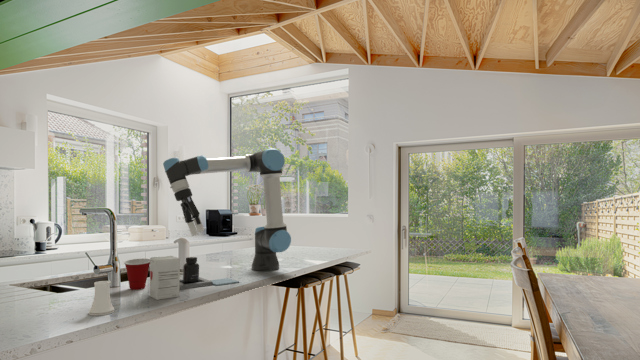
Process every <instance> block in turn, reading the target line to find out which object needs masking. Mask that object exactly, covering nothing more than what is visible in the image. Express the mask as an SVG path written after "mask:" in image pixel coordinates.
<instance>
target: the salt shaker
mask: <svg viewBox="0 0 640 360" xmlns="http://www.w3.org/2000/svg"><path fill="white" fill-rule="evenodd" d="M111 282H112V281H111V280H99V281H95V282H94V283H93V284H94V285H93V286H94V295H93V301H92V304H91V307H90V309H89V310H88V315H89V316H98V317H99V316H105V315H106V316H107V315H109V314H112V313H114V312H115V307H114V306H113V304H112V300H111V294H110V293H111V292H110V291H111V290H110V289H111V288H110V287H111Z"/></svg>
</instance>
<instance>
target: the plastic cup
mask: <svg viewBox="0 0 640 360" xmlns="http://www.w3.org/2000/svg"><path fill="white" fill-rule="evenodd" d="M123 264H124V265H125V269H126V274H127V280H128V285H129V286H128V287H129V289H130V290H131V291H133V290H134V291H138V290H144V289H145V287H146V283H147V279H148V274H149V271H150V258H133V259H132V258H131V259H127V260H125V261H123Z"/></svg>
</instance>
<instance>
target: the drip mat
mask: <svg viewBox="0 0 640 360" xmlns="http://www.w3.org/2000/svg"><path fill="white" fill-rule="evenodd" d="M208 280H209V279H208ZM209 281H212V286H215V287H218V286H225V285H233V284H239V283H240V281H239V280H235V279H233V278H229V277H225V278H218V279H211V280H209Z"/></svg>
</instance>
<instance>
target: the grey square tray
mask: <svg viewBox="0 0 640 360" xmlns="http://www.w3.org/2000/svg"><path fill="white" fill-rule="evenodd" d="M207 286H213V284H212V281H209V279H207V278H203V277H200V276H199V282H197V283H189V284H183V278H182V279H180V281H179V290H186V289H192V288H199V287H207Z"/></svg>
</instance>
